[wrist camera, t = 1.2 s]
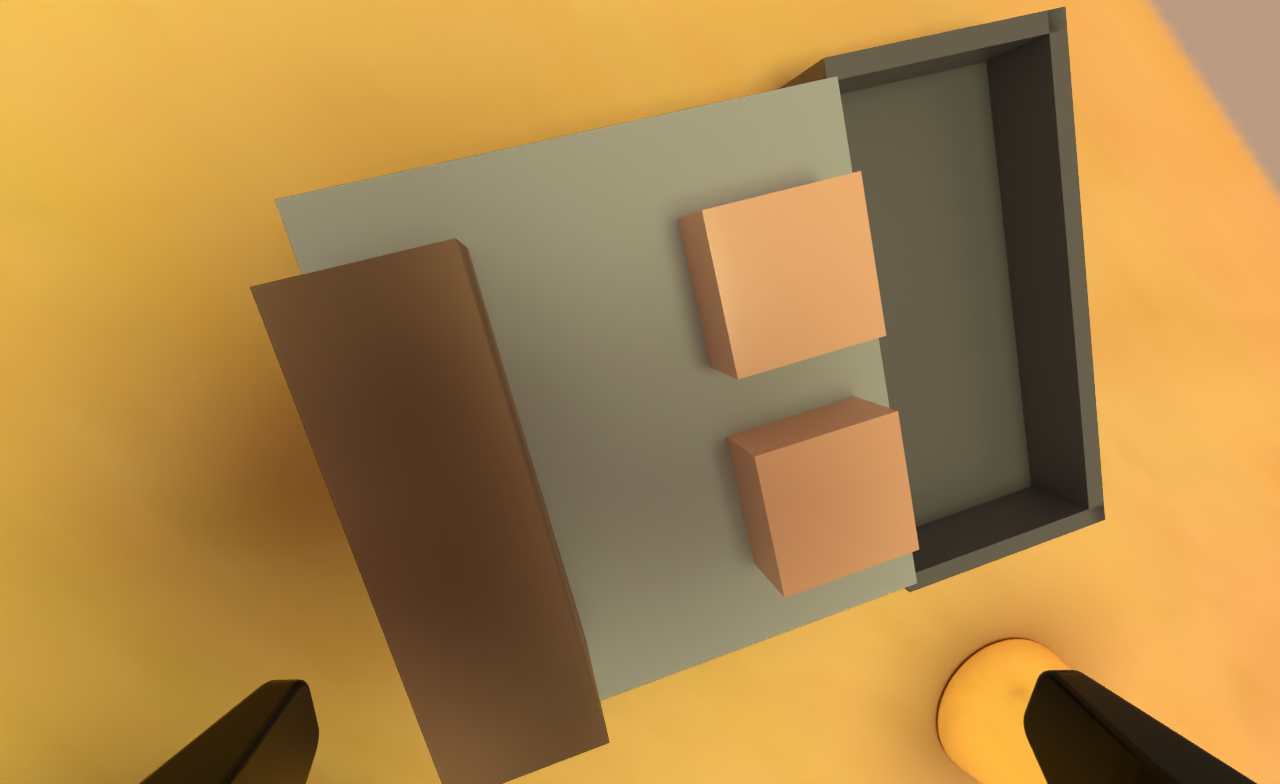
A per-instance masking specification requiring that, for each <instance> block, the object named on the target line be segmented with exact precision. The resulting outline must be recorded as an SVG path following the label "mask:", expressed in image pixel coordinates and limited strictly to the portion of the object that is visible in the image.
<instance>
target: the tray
mask: <svg viewBox="0 0 1280 784" xmlns="http://www.w3.org/2000/svg"><path fill="white" fill-rule="evenodd" d="M836 76H837V77H838V83H839V90H840V96H841V102H842V109H843V115H844V121H845V128H846V134H847V140H848V147H849V153H850V160H851V166H852V172H853V173H854V172H859V171H861V174H862V181H863V187H864V194H865V200H866V207H867V213H868V220H869V226H870V233H871V239H872V246H873V252H874V259H875V265H876V272H877V278H878V285H879V291H880V298H881V304H882V311H883V317H884V324H885V330H886V336H883V337H880V338H879V344H880V350H881V357H882V363H883V369H884V376H885V382H886V389H887V395H888V401H889V408H891V409H894V410H897V411H898V414H899V421H900V427H901V434H902V440H903V447H904V453H905V460H906V466H907V473H908V479H909V486H910V492H911V499H912V505H913V512H914V518H915V525H916V531H917V538H918V544H919V550H916V551H914V552H912V554H913V560H914V567H915V573H916V579H917V584H914V585H911V586H909V587H906V588H905V589H906V590H907V591H909V592H912V591H915V590H917V589H920V588H923V587H925V586H928V585H931V584H933V583H936V582H939V581H941V580H944V579H947V578H949V577H952V576H955V575H958V574H960V573H963V572H966V571H968V570H971V569H974V568H976V567H979V566H982V565H984V564H987V563H990V562H992V561H995V560H998V559H1001V558H1003V557H1006V556H1009V555H1011V554H1014V553H1017V552H1019V551H1022V550H1025V549H1027V548H1030V547H1033V546H1035V545H1038V544H1041V543H1043V542H1046V541H1049V540H1052V539H1054V538H1057V537H1060V536H1062V535H1065V534H1068V533H1070V532H1073V531H1076V530H1078V529H1081V528H1084V527H1086V526H1089V525H1092V524H1095V523H1097V522H1100V521H1103V520H1105V514H1104V501H1103V488H1102V475H1101V462H1100V449H1099V436H1098V423H1097V410H1096V397H1095V384H1094V371H1093V358H1092V346H1091V333H1090V320H1089V307H1088V294H1087V281H1086V268H1085V255H1084V242H1083V229H1082V216H1081V203H1080V190H1079V177H1078V164H1077V151H1076V138H1075V125H1074V112H1073V99H1072V86H1071V73H1070V60H1069V48H1068V35H1067V22H1066V9H1065V7H1061V8H1057V9H1052V10H1047V11H1043V12H1038V13H1033V14H1028V15H1024V16H1019V17H1014V18H1010V19H1005V20H1000V21H996V22H991V23H986V24H982V25H977V26H972V27H967V28H963V29H958V30H953V31H949V32H944V33H939V34H935V35H930V36H925V37H921V38H916V39H911V40H906V41H902V42H897V43H892V44H888V45H883V46H878V47H874V48H869V49H864V50H860V51H855V52H850V53H845V54H841V55H836V56H831V57H827V58H823V59H822V60H820V61H819V62H817V63H816V64H815V65H813V66H812V67H810V68H809V69H807V70H806V71H804V72H803V73H801V74H800V75H799V76H797V77H796V78H794V79H793V80H791V81H790V82H788V83H787V84H785V85H784V86H783V87H781V88H786V87H790V86H795V85H800V84H804V83H809V82H813V81H818V80H822V79H827V78H832V77H836ZM781 88H780V89H781Z"/></svg>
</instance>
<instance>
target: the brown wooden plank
mask: <svg viewBox="0 0 1280 784" xmlns="http://www.w3.org/2000/svg"><path fill="white" fill-rule="evenodd" d="M250 289H251V291H252V294H253V297H254V299H255V302H256V304H257V307H258V310H259V312H260V315H261V317H262V320H263V322H264V325H265V328H266V330H267V333H268V335H269V338H270V341H271V343H272V346H273V348H274V351H275V353H276V356H277V359H278V361H279V364H280V366H281V369H282V372H283V374H284V377H285V379H286V382H287V385H288V387H289V390H290V392H291V395H292V397H293V400H294V403H295V405H296V408H297V410H298V413H299V416H300V418H301V421H302V423H303V426H304V428H305V431H306V434H307V436H308V439H309V441H310V444H311V447H312V449H313V452H314V454H315V457H316V460H317V462H318V465H319V467H320V470H321V472H322V475H323V478H324V480H325V483H326V485H327V488H328V491H329V493H330V496H331V498H332V501H333V503H334V506H335V509H336V511H337V514H338V516H339V519H340V522H341V524H342V527H343V529H344V532H345V534H346V537H347V540H348V542H349V545H350V547H351V550H352V553H353V555H354V558H355V560H356V563H357V566H358V568H359V571H360V573H361V576H362V578H363V581H364V584H365V586H366V589H367V591H368V594H369V597H370V599H371V602H372V604H373V607H374V609H375V612H376V615H377V617H378V620H379V622H380V625H381V628H382V630H383V633H384V635H385V638H386V640H387V643H388V646H389V648H390V651H391V653H392V656H393V659H394V661H395V664H396V666H397V669H398V672H399V674H400V677H401V679H402V682H403V684H404V687H405V690H406V692H407V695H408V697H409V700H410V703H411V705H412V708H413V710H414V713H415V715H416V718H417V721H418V723H419V726H420V728H421V731H422V734H423V736H424V739H425V741H426V744H427V747H428V749H429V752H430V754H431V757H432V759H433V762H434V765H435V767H436V770H437V772H438V775H439V778H440V780H441V783H442V784H503V783H505V782H508V781H510V780H513V779H516V778H518V777H521V776H523V775H526V774H529V773H531V772H534V771H537V770H539V769H542V768H544V767H547V766H550V765H552V764H555V763H557V762H560V761H563V760H565V759H568V758H571V757H573V756H576V755H578V754H581V753H584V752H586V751H589V750H591V749H594V748H597V747H599V746H602V745H605V744H607V743H609V738H608V734H607V729H606V725H605V721H604V716H603V712H602V708H601V703H600V699H599V694H598V690H597V686H596V681H595V677H594V672H593V668H592V664H591V659H590V655H589V650H588V646H587V642H586V638H585V635H584V631H583V628H582V625H581V621H580V618H579V615H578V611H577V608H576V605H575V601H574V598H573V595H572V591H571V588H570V585H569V581H568V578H567V575H566V572H565V568H564V565H563V562H562V558H561V555H560V552H559V548H558V545H557V542H556V538H555V535H554V532H553V528H552V525H551V522H550V519H549V515H548V512H547V509H546V505H545V502H544V499H543V495H542V492H541V489H540V485H539V482H538V479H537V475H536V472H535V469H534V466H533V462H532V459H531V456H530V452H529V449H528V446H527V442H526V439H525V436H524V432H523V429H522V426H521V422H520V419H519V416H518V412H517V409H516V406H515V403H514V399H513V396H512V393H511V389H510V386H509V383H508V379H507V376H506V373H505V369H504V366H503V363H502V359H501V356H500V353H499V350H498V346H497V343H496V340H495V336H494V333H493V330H492V326H491V323H490V320H489V316H488V313H487V310H486V306H485V303H484V300H483V297H482V293H481V290H480V287H479V283H478V280H477V277H476V273H475V270H474V267H473V263H472V260H471V257H470V253H469V250H468V248H467V247H466V246H465V245H463V244H462V243H461V242H460V241H458V240H457V239H456V238H453V239H449V240H445V241H441V242H437V243H433V244H428V245H424V246H420V247H416V248H412V249H407V250H403V251H399V252H395V253H391V254H387V255H382V256H378V257H374V258H370V259H366V260H361V261H357V262H353V263H349V264H345V265H340V266H336V267H332V268H328V269H324V270H320V271H315V272H311V273H307V274H303V275H299V276H294V277H290V278H286V279H282V280H278V281H274V282H269V283H265V284H261V285H257V286H253V287H250Z"/></svg>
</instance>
